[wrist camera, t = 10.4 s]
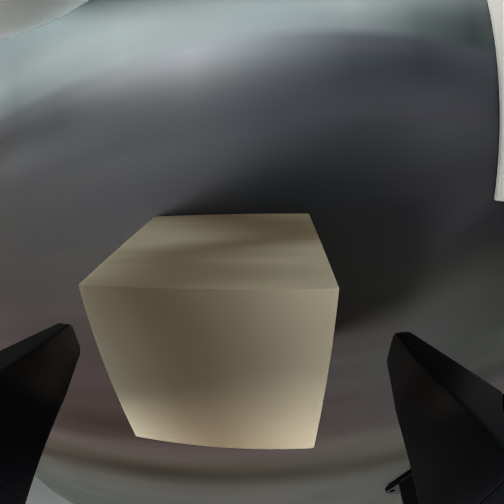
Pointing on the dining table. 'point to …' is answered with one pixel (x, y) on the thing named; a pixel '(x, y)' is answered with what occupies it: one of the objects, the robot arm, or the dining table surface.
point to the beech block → (218, 329)
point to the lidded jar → (31, 14)
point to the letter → (500, 7)
